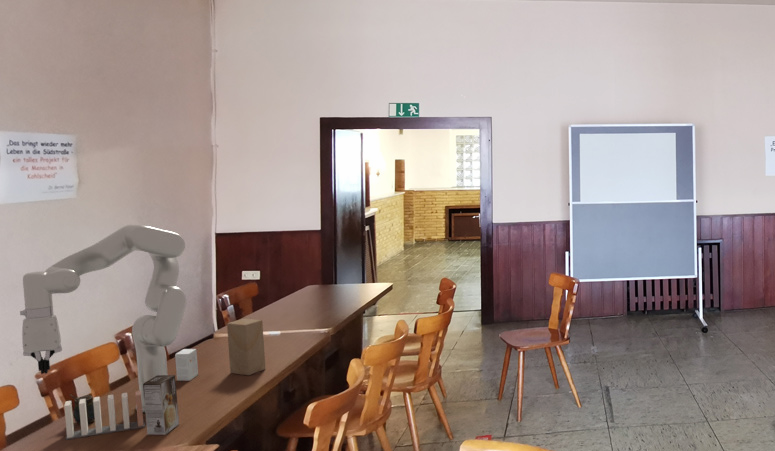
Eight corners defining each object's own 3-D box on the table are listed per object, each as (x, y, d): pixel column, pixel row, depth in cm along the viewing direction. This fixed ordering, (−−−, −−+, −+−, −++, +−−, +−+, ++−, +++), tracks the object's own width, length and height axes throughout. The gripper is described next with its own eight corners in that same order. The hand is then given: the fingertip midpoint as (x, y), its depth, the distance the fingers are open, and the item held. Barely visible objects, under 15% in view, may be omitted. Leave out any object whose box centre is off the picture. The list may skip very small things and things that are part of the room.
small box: (185, 374, 285) (183, 348, 285) (198, 374, 285) (196, 348, 284) (176, 380, 278) (174, 354, 277) (190, 380, 277) (188, 353, 276)
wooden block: (248, 375, 279) (244, 325, 278) (229, 373, 284) (226, 323, 283) (266, 369, 287) (262, 319, 286) (247, 366, 293) (244, 318, 291)
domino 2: (82, 430, 226) (79, 399, 225) (88, 429, 226) (85, 398, 225) (81, 435, 221) (78, 403, 220) (87, 434, 222) (84, 403, 221)
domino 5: (124, 423, 230) (121, 393, 229) (129, 423, 230) (127, 392, 230) (124, 428, 225) (121, 397, 224) (129, 428, 226) (127, 396, 225)
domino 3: (96, 428, 227) (94, 397, 226) (102, 427, 228) (99, 396, 227) (96, 433, 222) (93, 401, 222) (101, 432, 223) (98, 401, 222)
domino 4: (110, 426, 228) (108, 395, 228) (116, 425, 229) (113, 394, 228) (110, 431, 224) (107, 399, 223) (115, 430, 224) (113, 398, 224)
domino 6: (137, 421, 231) (135, 391, 230) (143, 421, 232) (140, 390, 231) (138, 426, 226) (135, 395, 226) (143, 425, 227) (140, 394, 226)
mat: (67, 433, 225) (67, 432, 225) (144, 421, 232) (144, 420, 232) (65, 439, 219) (65, 438, 219) (145, 427, 227) (145, 426, 227)
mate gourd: (100, 422, 234) (96, 392, 233) (75, 428, 230) (71, 397, 229) (95, 416, 240) (92, 387, 239) (71, 421, 236) (68, 392, 235)
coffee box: (161, 424, 229) (157, 374, 227) (179, 424, 228) (175, 374, 226) (146, 434, 220) (142, 383, 218) (166, 435, 219) (161, 383, 217)
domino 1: (68, 432, 224) (65, 401, 224) (74, 431, 225) (71, 400, 224) (67, 438, 220) (64, 406, 219) (72, 437, 220) (70, 405, 219)
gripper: (10, 317, 211) (15, 379, 213) (65, 312, 216) (70, 372, 218) (13, 313, 219) (19, 373, 220) (67, 308, 223) (72, 366, 225)
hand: (44, 372), depth 219 cm, fingers closed
